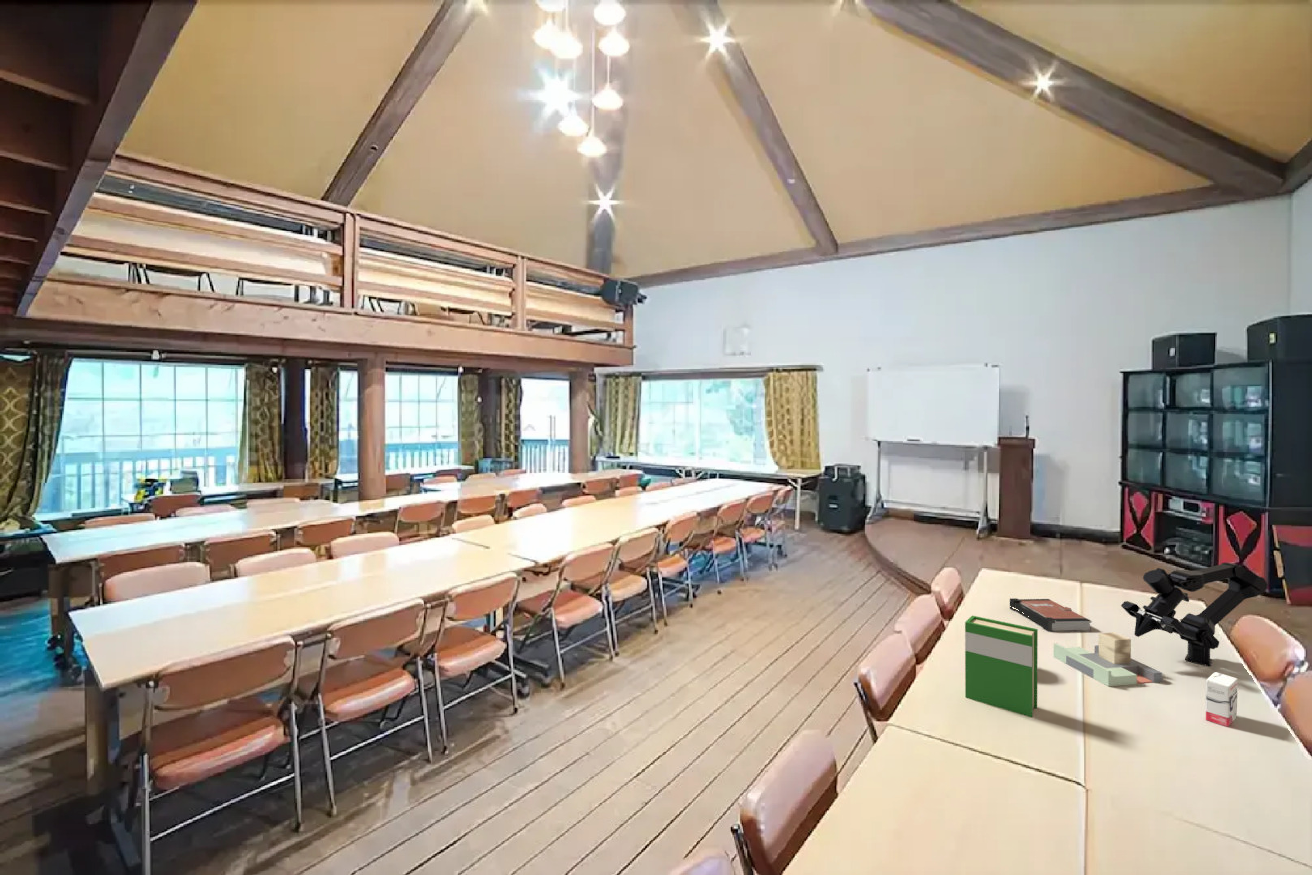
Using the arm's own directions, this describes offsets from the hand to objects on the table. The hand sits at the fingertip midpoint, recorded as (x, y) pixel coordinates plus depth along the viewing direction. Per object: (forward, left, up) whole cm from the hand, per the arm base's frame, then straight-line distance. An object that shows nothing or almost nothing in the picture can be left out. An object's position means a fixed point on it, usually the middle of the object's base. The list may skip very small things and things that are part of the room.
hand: (1136, 635), depth 195 cm
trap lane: (+10, -7, -11) cm, 16 cm away
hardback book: (+58, -23, -11) cm, 63 cm away
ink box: (+24, +23, -11) cm, 35 cm away
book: (-29, -33, -11) cm, 45 cm away
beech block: (+7, -5, -8) cm, 11 cm away
